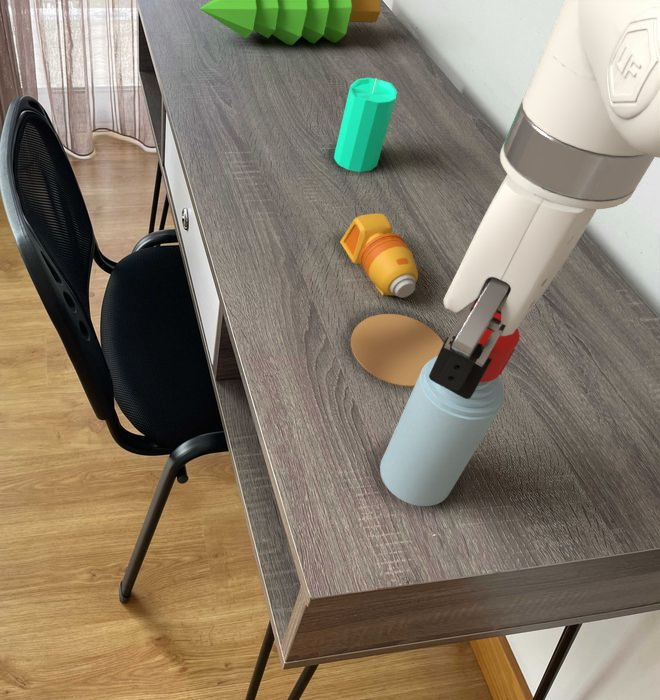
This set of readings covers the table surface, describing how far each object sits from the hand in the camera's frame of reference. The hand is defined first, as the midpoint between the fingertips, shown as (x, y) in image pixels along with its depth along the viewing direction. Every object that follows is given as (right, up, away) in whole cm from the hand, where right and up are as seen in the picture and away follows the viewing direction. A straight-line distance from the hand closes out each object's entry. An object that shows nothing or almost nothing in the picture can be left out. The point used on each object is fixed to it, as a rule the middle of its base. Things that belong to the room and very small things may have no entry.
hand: (470, 355), depth 55 cm
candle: (+1, +26, +45) cm, 52 cm away
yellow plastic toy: (0, +9, +30) cm, 31 cm away
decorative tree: (-6, +52, +68) cm, 86 cm away
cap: (0, 0, 0) cm, 1 cm away
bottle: (-1, -11, +11) cm, 16 cm away
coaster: (+1, 0, +22) cm, 22 cm away
